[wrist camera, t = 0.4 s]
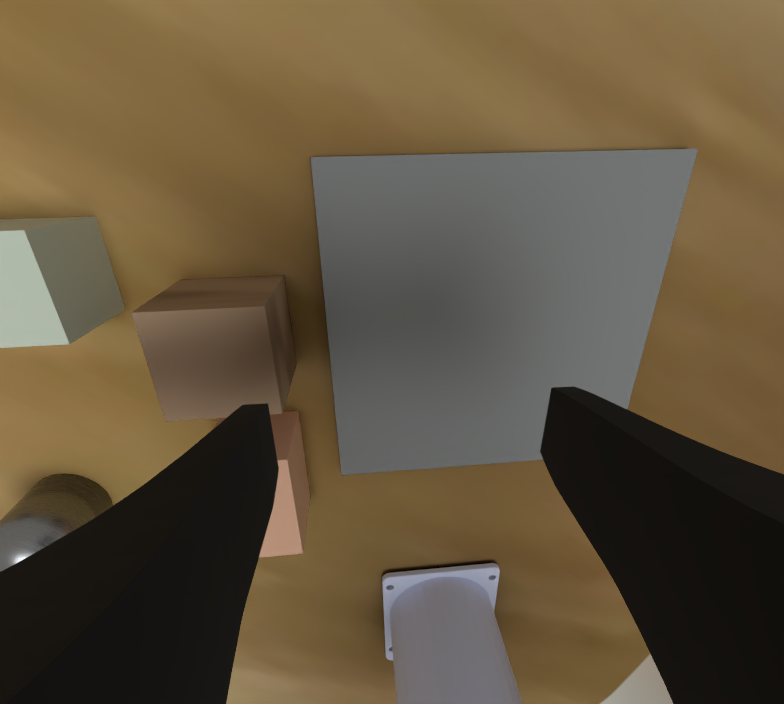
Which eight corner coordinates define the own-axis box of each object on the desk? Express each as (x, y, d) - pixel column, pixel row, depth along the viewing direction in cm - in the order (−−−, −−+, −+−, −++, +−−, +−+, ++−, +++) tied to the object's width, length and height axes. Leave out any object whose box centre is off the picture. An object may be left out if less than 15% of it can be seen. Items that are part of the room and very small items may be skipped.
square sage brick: (126, 308, 18) (69, 344, 14) (33, 312, 18) (-49, 350, 14) (96, 216, 16) (24, 230, 13) (-7, 219, 16) (-112, 234, 12)
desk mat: (609, 447, 24) (614, 454, 23) (341, 467, 23) (341, 475, 22) (687, 149, 17) (697, 148, 17) (312, 157, 16) (310, 157, 16)
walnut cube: (296, 363, 20) (282, 413, 16) (204, 368, 20) (165, 421, 16) (284, 274, 18) (264, 306, 14) (181, 279, 18) (131, 312, 14)
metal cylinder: (121, 524, 23) (72, 599, 19) (49, 530, 23) (-16, 608, 19) (99, 470, 22) (40, 541, 17) (20, 476, 21) (-58, 549, 17)
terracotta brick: (310, 494, 24) (302, 553, 20) (241, 499, 23) (221, 560, 20) (298, 409, 21) (287, 459, 18) (221, 414, 21) (193, 466, 17)
